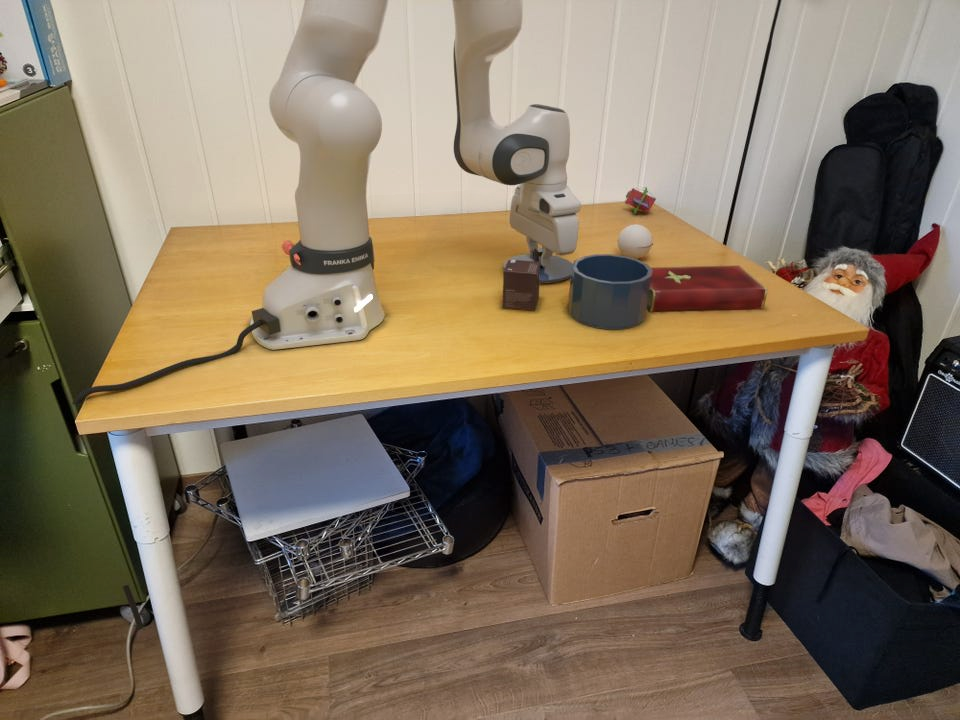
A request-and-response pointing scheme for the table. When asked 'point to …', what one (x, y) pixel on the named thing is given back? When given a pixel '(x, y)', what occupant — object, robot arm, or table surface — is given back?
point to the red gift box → (639, 200)
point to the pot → (609, 291)
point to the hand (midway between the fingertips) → (539, 261)
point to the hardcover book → (704, 289)
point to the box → (521, 285)
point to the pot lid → (548, 267)
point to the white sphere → (635, 241)
